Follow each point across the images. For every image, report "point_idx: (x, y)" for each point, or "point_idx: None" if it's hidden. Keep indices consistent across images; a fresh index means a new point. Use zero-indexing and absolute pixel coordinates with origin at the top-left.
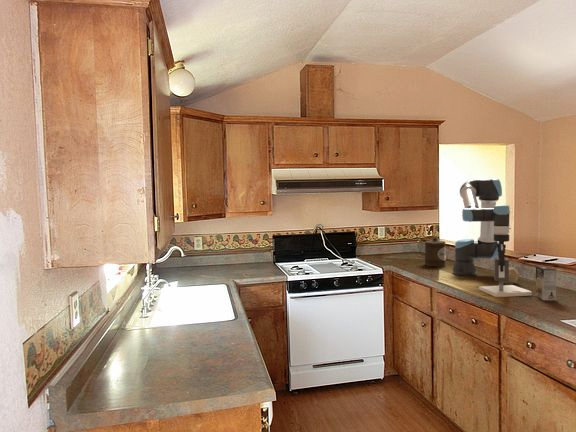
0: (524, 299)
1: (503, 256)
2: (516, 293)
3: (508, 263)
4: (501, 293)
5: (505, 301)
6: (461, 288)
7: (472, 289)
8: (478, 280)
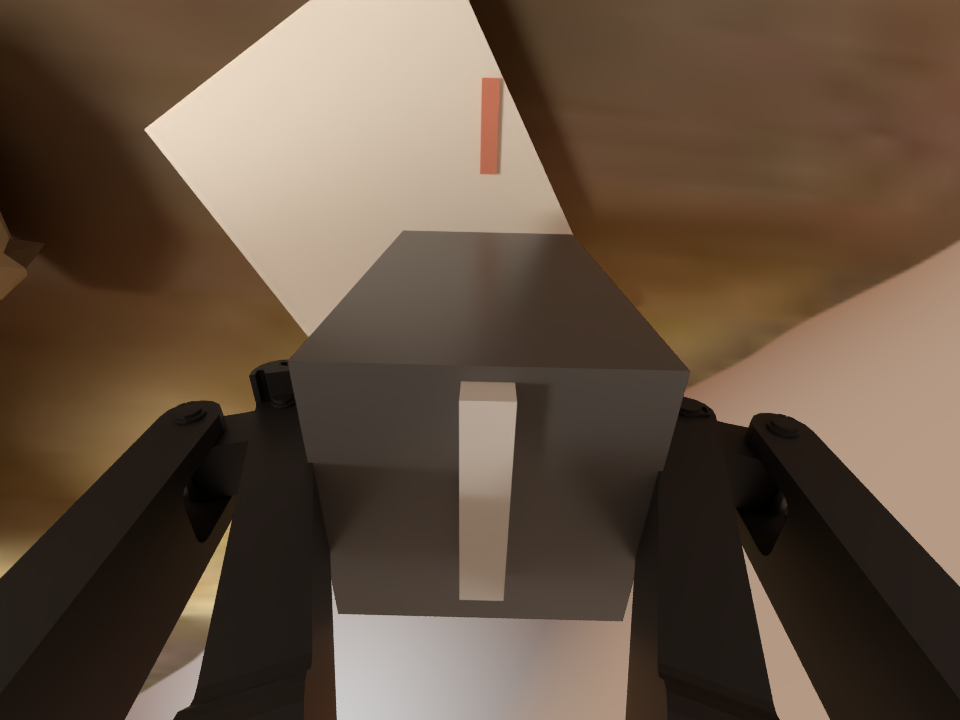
0: (646, 55)
1: (957, 627)
2: (523, 126)
3: (656, 337)
4: None
5: (745, 247)
6: None
7: None
8: (19, 408)
